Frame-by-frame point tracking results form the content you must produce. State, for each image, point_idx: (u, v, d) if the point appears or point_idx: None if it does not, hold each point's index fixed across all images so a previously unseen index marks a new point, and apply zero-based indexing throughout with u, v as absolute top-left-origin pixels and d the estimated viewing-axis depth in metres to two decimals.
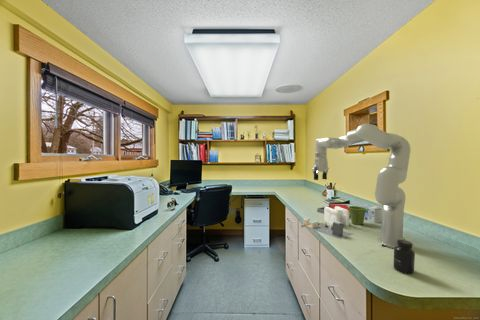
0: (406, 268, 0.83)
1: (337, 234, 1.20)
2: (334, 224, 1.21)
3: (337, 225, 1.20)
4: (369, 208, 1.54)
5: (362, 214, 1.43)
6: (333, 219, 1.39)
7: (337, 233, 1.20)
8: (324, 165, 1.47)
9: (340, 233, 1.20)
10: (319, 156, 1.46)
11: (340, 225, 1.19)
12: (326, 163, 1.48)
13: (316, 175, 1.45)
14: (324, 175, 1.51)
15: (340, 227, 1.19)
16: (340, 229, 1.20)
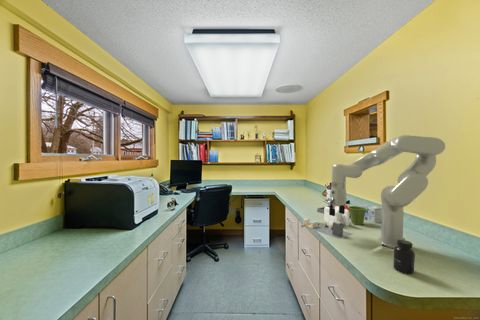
0: (406, 268, 0.83)
1: (337, 234, 1.20)
2: (334, 224, 1.21)
3: (337, 225, 1.20)
4: (369, 208, 1.54)
5: (362, 214, 1.43)
6: (333, 219, 1.39)
7: (337, 233, 1.20)
8: (342, 197, 1.19)
9: (340, 233, 1.20)
10: (337, 186, 1.18)
11: (340, 225, 1.19)
12: (345, 195, 1.21)
13: (332, 210, 1.18)
14: (341, 208, 1.24)
15: (340, 227, 1.19)
16: (340, 229, 1.20)
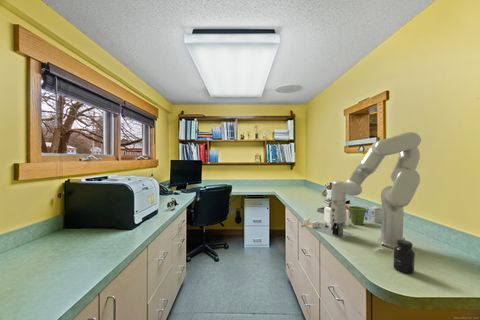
0: (406, 268, 0.83)
1: None
2: None
3: None
4: (369, 208, 1.54)
5: (362, 214, 1.43)
6: None
7: None
8: (343, 215, 1.19)
9: (340, 233, 1.20)
10: (337, 204, 1.18)
11: (340, 225, 1.19)
12: (345, 212, 1.21)
13: (335, 229, 1.19)
14: None
15: (340, 227, 1.19)
16: (340, 229, 1.20)
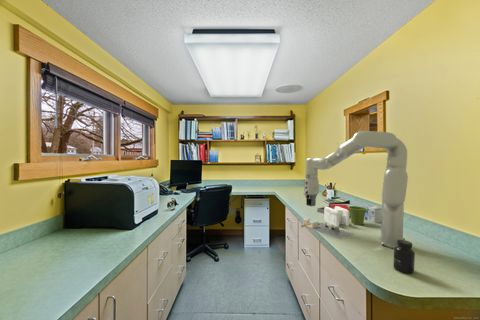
0: (406, 268, 0.83)
1: None
2: None
3: None
4: (369, 208, 1.54)
5: (362, 214, 1.43)
6: (333, 219, 1.39)
7: None
8: (315, 187, 1.35)
9: (313, 203, 1.35)
10: (309, 177, 1.34)
11: (313, 196, 1.35)
12: (317, 185, 1.36)
13: (308, 200, 1.35)
14: None
15: (312, 198, 1.35)
16: (313, 200, 1.35)
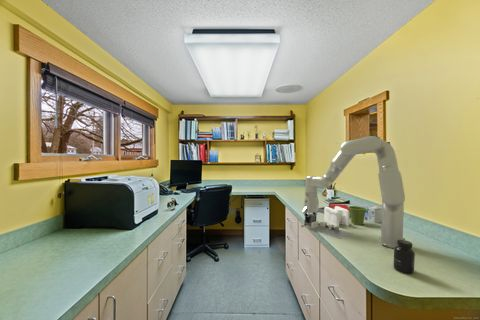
0: (406, 268, 0.83)
1: (310, 224, 1.35)
2: None
3: (310, 216, 1.35)
4: (369, 208, 1.54)
5: (362, 214, 1.43)
6: (333, 219, 1.39)
7: (310, 224, 1.35)
8: (315, 205, 1.35)
9: None
10: (309, 196, 1.34)
11: (312, 216, 1.35)
12: (317, 203, 1.37)
13: (307, 218, 1.34)
14: None
15: (312, 219, 1.35)
16: (312, 220, 1.35)
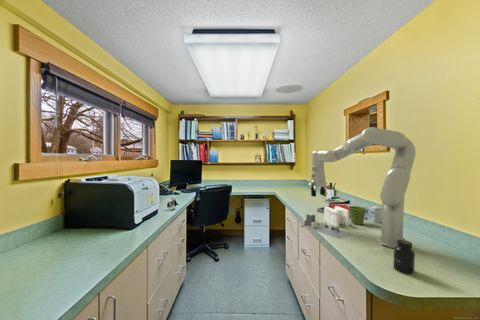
0: (406, 268, 0.83)
1: (310, 224, 1.35)
2: (307, 216, 1.37)
3: (310, 216, 1.35)
4: (369, 208, 1.54)
5: (362, 214, 1.43)
6: (333, 219, 1.39)
7: (310, 224, 1.35)
8: (322, 180, 1.36)
9: None
10: (316, 170, 1.35)
11: (312, 216, 1.35)
12: (324, 177, 1.37)
13: (313, 191, 1.34)
14: (322, 190, 1.40)
15: (312, 219, 1.35)
16: (312, 220, 1.35)
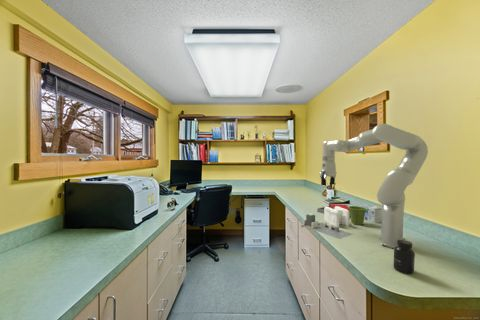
0: (406, 268, 0.83)
1: (310, 224, 1.35)
2: (307, 216, 1.37)
3: (310, 216, 1.35)
4: (369, 208, 1.54)
5: (362, 214, 1.43)
6: (333, 219, 1.39)
7: (310, 224, 1.35)
8: (332, 169, 1.38)
9: None
10: (327, 160, 1.36)
11: (312, 216, 1.35)
12: (334, 167, 1.39)
13: (324, 180, 1.36)
14: (332, 180, 1.42)
15: (312, 219, 1.35)
16: (312, 220, 1.35)
